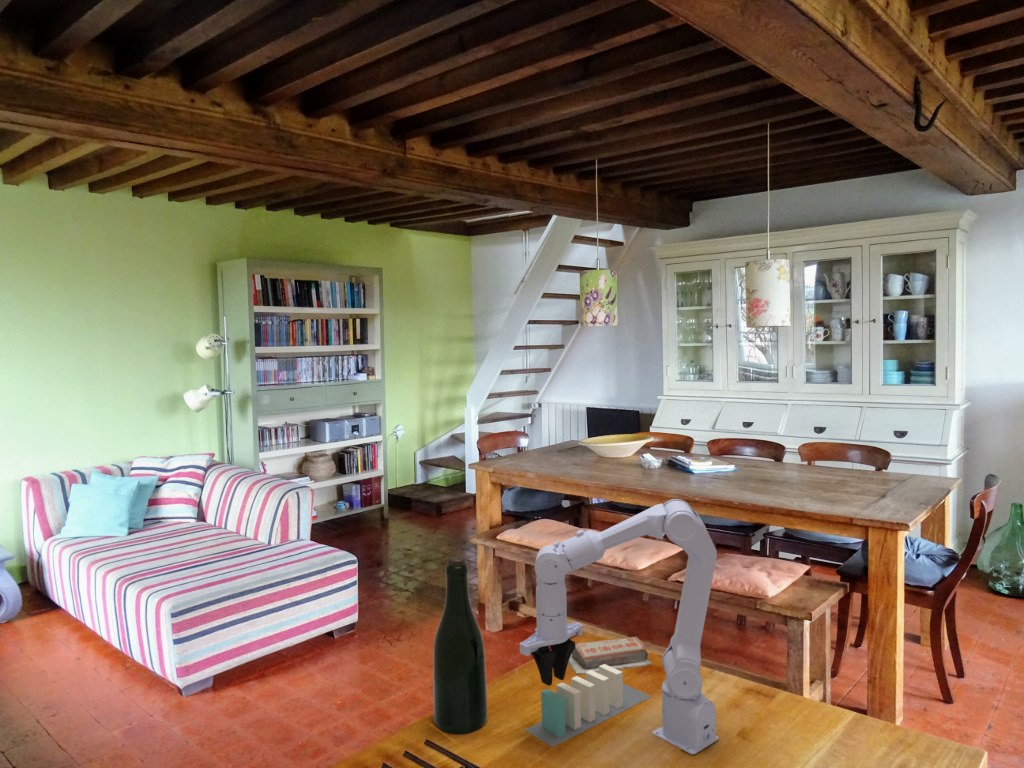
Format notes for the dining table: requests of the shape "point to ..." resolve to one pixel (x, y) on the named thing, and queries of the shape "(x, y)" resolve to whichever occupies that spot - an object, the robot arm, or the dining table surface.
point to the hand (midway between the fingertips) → (552, 680)
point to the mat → (629, 700)
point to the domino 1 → (553, 712)
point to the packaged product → (609, 655)
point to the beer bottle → (459, 659)
